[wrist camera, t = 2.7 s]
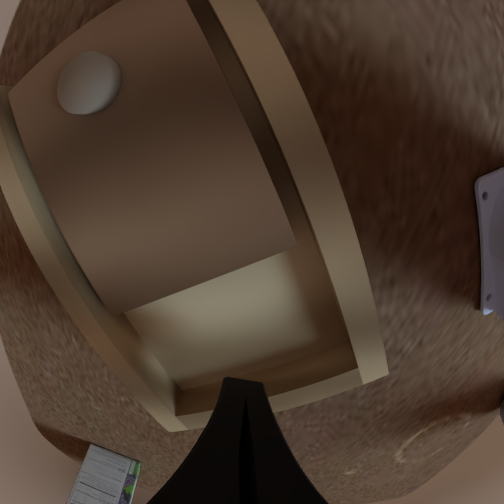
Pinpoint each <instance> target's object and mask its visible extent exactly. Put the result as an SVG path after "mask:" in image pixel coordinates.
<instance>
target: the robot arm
mask: <svg viewBox="0 0 504 504" xmlns="http://www.w3.org/2000/svg"><path fill="white" fill-rule="evenodd" d="M483 193H484V197H483V198H482V195H483ZM475 195H476V202H477V211H478V220H479V232H480V247H481V307H480V310H481V312H482V313H483V314H484V315H486V314H488V313H490V312H492V311H493V310H494V311H495V312H496V313H497V314H498V315H499V316H500V317H501V318H502V319H503V320H504V167H502V168H500V169H498V170H495V171H493V172H491V173H488V174H486V175H484V176H481V177H479V178H478V179H477V180H476V182H475ZM147 504H329V503H328V502H327V501H326V500H325V499H324V498H323V497H322V496H321V494H320V493H319V492H318V491H317V490H316V488H315V487H314V486H313V484H312V483H311V482H310V480H309V479H308V477H307V476H306V475H305V473H304V472H303V470H302V469H301V467H300V465H299V464H298V462H297V461H296V459H295V457H294V455H293V454H292V452H291V450H290V448H289V446H288V444H287V442H286V440H285V438H284V436H283V434H282V432H281V430H280V428H279V425H278V423H277V421H276V418H275V416H274V413H273V411H272V408H271V406H270V403H269V400H268V397H267V394H266V390H265V387H264V384H263V383H262V382H257V381H250V380H244V379H238V378H233V377H225V378H223V382H222V386H221V390H220V393H219V397H218V401H217V404H216V406H215V409H214V411H213V413H212V415H211V417H210V419H209V421H208V423H207V425H206V427H205V429H204V430H203V432H202V434H201V435H200V437H199V439H198V441H197V442H196V444H195V445H194V447H193V448H192V450H191V451H190V453H189V454H188V456H187V457H186V459H185V460H184V461H183V463H182V464H181V465H180V467H179V468H178V469H177V470H176V472H175V473H174V474H173V475H172V477H171V478H170V479H169V480H168V481H167V483H166V484H165V485H164V486H163V487H162V488H161V489H160V490H159V491H158V492H157V493H156V494H155V495H154V496H153V497H152V499H151V500H150V501H149V502H148V503H147Z"/></svg>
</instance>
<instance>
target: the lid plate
mask: <svg viewBox="0 0 504 504" xmlns="http://www.w3.org/2000/svg"><path fill="white" fill-rule="evenodd" d="M8 97H9V101H10V105H11V108H12V111H13V115H14V118H15V121H16V124H17V128H18V131H19V134H20V136H21V139H22V142H23V145H24V148H25V151H26V153H27V156H28V159H29V161H30V164H31V166H32V169H33V171H34V174H35V176H36V178H37V181H38V183H39V185H40V188H41V190H42V192H43V194H44V197H45V199H46V201H47V203H48V205H49V208H50V210H51V212H52V214H53V216H54V218H55V220H56V222H57V224H58V226H59V228H60V230H61V232H62V234H63V236H64V237H65V239H66V241H67V243H68V245H69V247H70V249H71V250H72V252H73V254H74V256H75V258H76V259H77V261H78V263H79V265H80V266H81V268H82V270H83V271H84V273H85V275H86V276H87V278H88V280H89V281H90V283H91V285H92V286H93V288H94V289H95V291H96V293H97V294H98V296H99V297H100V299H101V300H102V302H103V303H104V305H105V306H106V308H107V309H108V311H109V312H110V314H111V315H112V317H113V316H116V315H119V314H121V313H124V312H127V311H129V310H132V309H135V308H138V307H140V306H143V305H146V304H148V303H151V302H154V301H156V300H159V299H162V298H164V297H167V296H169V295H172V294H175V293H177V292H180V291H183V290H185V289H188V288H191V287H193V286H196V285H198V284H201V283H204V282H206V281H209V280H212V279H214V278H217V277H219V276H222V275H225V274H227V273H230V272H232V271H235V270H238V269H240V268H243V267H245V266H248V265H251V264H253V263H256V262H258V261H261V260H263V259H266V258H269V257H271V256H274V255H276V254H279V253H281V252H284V251H287V250H289V249H292V248H294V247H297V246H298V243H297V240H296V238H295V235H294V232H293V229H292V227H291V225H290V222H289V220H288V217H287V215H286V212H285V210H284V207H283V205H282V202H281V200H280V198H279V195H278V193H277V190H276V188H275V186H274V183H273V181H272V179H271V176H270V174H269V172H268V169H267V167H266V165H265V162H264V160H263V158H262V155H261V153H260V151H259V149H258V146H257V144H256V142H255V140H254V137H253V135H252V133H251V131H250V128H249V126H248V124H247V122H246V120H245V117H244V115H243V113H242V111H241V109H240V107H239V104H238V102H237V100H236V98H235V96H234V94H233V92H232V90H231V87H230V85H229V83H228V81H227V79H226V77H225V75H224V73H223V71H222V69H221V67H220V65H219V63H218V61H217V58H216V56H215V54H214V52H213V50H212V48H211V46H210V44H209V42H208V40H207V39H206V37H205V35H204V33H203V31H202V29H201V27H200V25H199V23H198V21H197V19H196V17H195V15H194V13H193V11H192V10H191V8H190V6H189V4H188V2H187V0H121V1H120V2H118V3H116V4H115V5H113V6H111V7H110V8H108V9H107V10H105V11H104V12H102V13H101V14H99V15H98V16H96V17H95V18H93V19H92V20H90V21H89V22H88V23H86V24H85V25H83V26H82V27H81V28H79V29H78V30H77V31H75V32H74V33H73V34H71V35H70V36H69V37H68V38H66V39H65V40H64V41H63V42H61V43H60V44H59V45H58V46H57V47H55V48H54V49H53V50H52V51H51V52H50V53H48V54H47V55H46V56H45V57H44V58H43V59H42V60H41V61H39V62H38V63H37V64H36V65H35V66H34V67H33V68H32V69H31V70H30V71H29V72H28V73H27V74H26V75H25V76H24V77H23V78H22V79H21V80H20V81H19V82H18V83H17V84H16V85H15V86H14V87H13V88H12V89H11V90H10V91H9V93H8Z"/></svg>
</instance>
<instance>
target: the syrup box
mask: <svg viewBox="0 0 504 504" xmlns="http://www.w3.org/2000/svg"><path fill="white" fill-rule="evenodd" d="M139 469H140V462H138V461H135V460H133V459H130V458H127V457H124V456H121V455H119V454H116V453H114V452H111V451H108V450H106V449H103V448H101V447H98V446H96V445H94V444H90V446H89V448H88V451H87V453H86V455H85V458H84V460H83V462H82V465H81V467H80V470H79V472H78V474H77V477H76V479H75V482H74V484H73V487H72V490H71V492H70V495H69V498H68V500H67V503H66V504H131V500H132V496H133V493H134V489H135V486H136V482H137V478H138V474H139Z"/></svg>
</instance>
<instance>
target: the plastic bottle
mask: <svg viewBox="0 0 504 504" xmlns="http://www.w3.org/2000/svg"><path fill="white" fill-rule="evenodd" d="M500 416H501V419H502V422H503V424H504V399H503V401H502V403H501V406H500Z"/></svg>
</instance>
